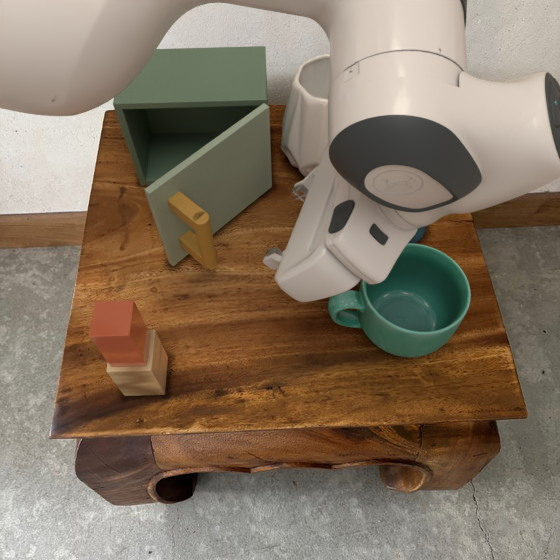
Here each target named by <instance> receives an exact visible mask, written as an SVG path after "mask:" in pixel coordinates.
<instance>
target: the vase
mask: <svg viewBox="0 0 560 560" xmlns="http://www.w3.org/2000/svg"><path fill="white" fill-rule="evenodd" d="M329 90H330V53H323V54H318V55H316V56H313V57H311V58H308V59H307V60H305V61H303V62H302V63H301V64H300V65H298V67H297V69H296V72H295V75H294V77H293V79H292V83H291V87H290V91H289V93H288V94H289V95H288V98H287V101H286V106H285V109H284V112H283V117H282V122H281V137H280V138H281V139H280V148H281V151H282V152H283V154H284V155H285V157H287V159H288V161H289V164H290V165H291V166H292V167H294V168H296V169H298V172H299V174H301V175H302V176H303V177H304V178H305V177H306V176H307V175H308V174H309V173H311V172H312V171H313V170H314V169H315V168H316V167H317V166H319V163H320V161H321V158H322V156H323V153H324V151H325V148H326V146H327V143H328V94H329Z"/></svg>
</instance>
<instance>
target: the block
mask: <svg viewBox="0 0 560 560" xmlns="http://www.w3.org/2000/svg"><path fill="white" fill-rule="evenodd" d="M92 310H93V311H92V316H91V322H90V328H89V333H88V337H89V338H90V340H91V342H92V343H93V344H94V345H95V347H96V348H97V349H98V351H99V353H100V354H101V355H102V356H103V359H104V360H105V361H106V362H108V363H109V365H110V366H111V367H133V366H147V361H148V352H149V342H150V332H149V330H150V329H149V328H148V326H147V324H146V323H145V320H144V318H143V316H142V314H141V313H140V310H139V308H138V306H137V304H136V302H135V301H134V300H133V299H132V300H131V299H129V300H126V299H125V300H96V301H94V305H93V309H92Z"/></svg>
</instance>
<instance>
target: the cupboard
mask: <svg viewBox="0 0 560 560" xmlns="http://www.w3.org/2000/svg"><path fill="white" fill-rule="evenodd" d="M266 47H267V46H266V45H258V46H257V45H255V46H220V47H216V46H215V47H183V48H181V47H180V48H157V49H156V50H155V52H154V53H153V55H152V57H151V58H150V60H149V61H148V63H147V64H146V66H145V67H144V69H143V70H142V71H141V72H140V74H139V75H138V76H137V77H136V78H135V79H134V80H133V81H132V82H131V83H130V85H129V86H128V87H126V88H125V89H124V90H123V91H122V92H121V93H119V94H118V95H117V96H115V97H114V98H113V99H112V105H113V109H114V111H115V114H116V117H117V121H118V123H119V127H120V129H121V132H122V135H123V138H124V140H125V141H124V142H125V144H126V146H127V149H128V153H129V155H130V158H131V161H132V165H133V167H134V170H135V173H136V176H137V178H138V181H139V185H140V186H150V185H151V184H152V183H154V182H155V181H157V180H158V179H159V178H161V177H162V176H163V175H165V174H166V173H168V172H169V171H170V170H172V169H173V168H175V167H176V166H177V165H179V164H180V163H182V162H183V161H184V160H186V159H187V158H188V157H190V156H191V155H193V154H194V153H195V152H197V151H198V150H200V149H201V148H202V147H204V146H205V145H206V144H208V143H209V142H211V141H212V140H213V139H215V138H216V137H218V136H219V135H220V134H222V133H223V132H225V131H226V130H227V129H229V128H230V127H231V126H233V125H234V124H236V123H237V122H238V121H240V120H241V119H243V118H244V117H245V116H247V115H248V114H249V113H251V112H252V111H254V110H255V109H256V108H258V107H259V106H261V105H262V104H263V103H265V104H266V105H268V79H267V78H268V77H267V52H266V51H267V50H266ZM268 106H269V105H268Z"/></svg>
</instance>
